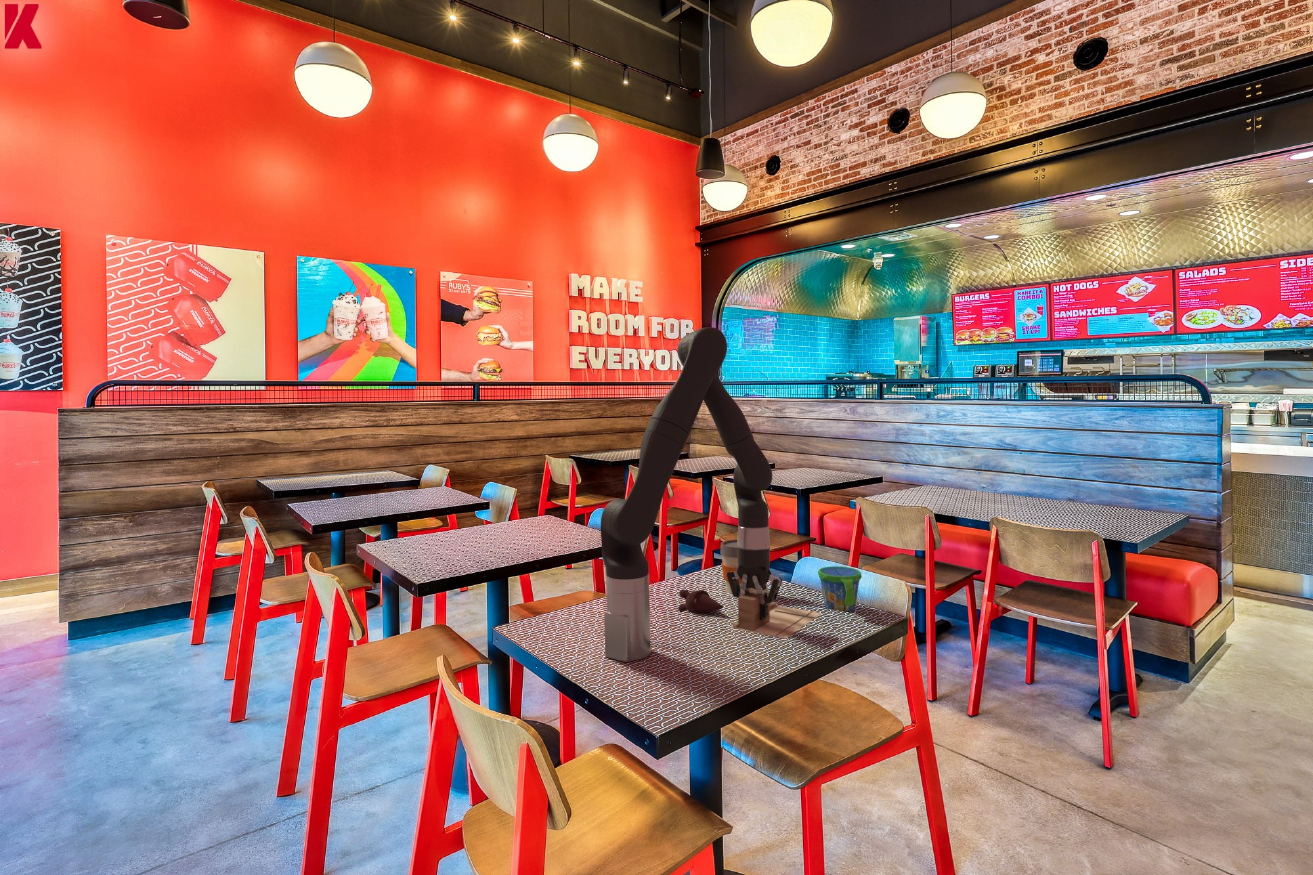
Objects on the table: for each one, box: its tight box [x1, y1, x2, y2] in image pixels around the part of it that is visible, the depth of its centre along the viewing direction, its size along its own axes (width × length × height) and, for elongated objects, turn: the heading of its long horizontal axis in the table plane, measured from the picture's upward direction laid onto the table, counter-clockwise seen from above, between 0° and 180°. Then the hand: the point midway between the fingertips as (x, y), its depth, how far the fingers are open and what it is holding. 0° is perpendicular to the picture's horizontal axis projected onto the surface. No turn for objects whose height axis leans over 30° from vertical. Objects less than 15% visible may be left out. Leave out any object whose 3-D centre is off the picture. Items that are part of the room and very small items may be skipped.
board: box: [730, 601, 823, 640], centre depth 152 cm, size 21×14×2 cm, turn 143°
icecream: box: [677, 589, 724, 615], centre depth 161 cm, size 7×7×15 cm
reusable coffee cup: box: [720, 539, 756, 596], centre depth 177 cm, size 13×13×15 cm
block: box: [737, 590, 770, 631], centre depth 149 cm, size 9×4×7 cm, turn 143°
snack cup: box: [817, 565, 862, 614], centre depth 163 cm, size 16×10×10 cm
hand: (754, 617), depth 149 cm, fingers closed on block, 4 cm apart
